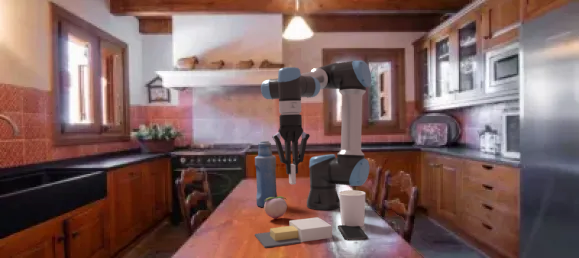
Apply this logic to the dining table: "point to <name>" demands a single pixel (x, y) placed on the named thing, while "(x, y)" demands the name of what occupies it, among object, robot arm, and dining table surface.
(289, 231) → the ochre tile
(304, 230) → the white stand
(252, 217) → the dining table surface
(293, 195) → the dining table surface
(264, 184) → the bottle
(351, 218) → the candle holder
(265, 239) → the dark grey mat
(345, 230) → the phone
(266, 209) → the decorative fruit
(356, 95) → the robot arm
